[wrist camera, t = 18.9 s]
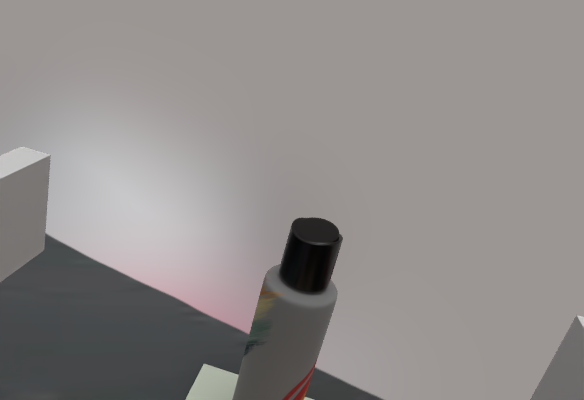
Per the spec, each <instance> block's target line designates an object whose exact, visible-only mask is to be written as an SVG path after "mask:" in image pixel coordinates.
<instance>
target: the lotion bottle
mask: <svg viewBox="0 0 584 400" xmlns="http://www.w3.org/2000/svg"><path fill="white" fill-rule="evenodd" d="M342 240H343V238H342V236H341V235H340V234H339V230H338V228H337V227H336V226H335V225H334V224H333V223H331V222H329V221H327V220H325V219H321V218H298V219H296V220H295V221H294V222H293V223H292V226H291V229H290V233H289V236H288V240H287V244H286V247H285V250H284V254H283V258H282V261H281V264H280V265H276V266H274V267H272V268H271V269H270V270H268V272H267V273H266V275H265V278H264V281H263V285H262V289H261V292H260V296H259V300H258V304H257V307H256V311H255V315H254V319H253V323H252V327H251V331H250V334H249V338H248V342H247V346H246V349H245V353H244V357H243V361H242V365H241V369H240V372H239V376H238V380H237V384H236V388H235V391H234V395H233V399H232V400H304V398H305V394H306V391H307V388H308V385H309V382H310V379H311V376H312V373H313V370H314V367H315V364H316V361H317V358H318V355H319V352H320V349H321V346H322V343H323V340H324V337H325V334H326V331H327V328H328V325H329V322H330V318H331V316H332V313H333V309H334V306H335V303H336V299H337V289H336V287H335V285H334V283H333V282H332V281H331V280H330V279H331V275H332V272H333V269H334V266H335V263H336V260H337V256H338V253H339V250H340V247H341V243H342Z"/></svg>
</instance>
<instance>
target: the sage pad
mask: <svg viewBox="0 0 584 400" xmlns="http://www.w3.org/2000/svg"><path fill="white" fill-rule="evenodd" d="M238 376H239V375H237V374H234V373H231V372H228V371H225V370H222V369H218V368H215V367H212V366H209V365H206V364H204V365H203V367H202V369H201V371H200V373H199V375H198V376H197V378H196V380H195V382H194V384H193V386H192V388H191V390H190V392H189V394H188V396H187V398H186V400H232V399H233V395H234V391H235V388H236V384H237V380H238ZM304 400H313V399H310V398H307V397H305V398H304Z"/></svg>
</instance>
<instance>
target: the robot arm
mask: <svg viewBox="0 0 584 400" xmlns="http://www.w3.org/2000/svg"><path fill="white" fill-rule="evenodd" d="M49 170H50V155H48V154H45V153H42V152H38V151H35V150H32V149H29V148H26V147H20V148H17V149H15V150H12V151H10V152H8V153H5V154H3V155H0V282H1V281H2V280H4V279H5V278H7V277H8V276H9V275H11V274H12V273H13V272H15V271H16V270H17V269H19V268H20V267H22V266H23V265H24V264H26V263H27V262H28V261H30V260H31V259H32V258H34V257H35V256H37V255H38V254H39V253H41V252H42V251H43V250H44V244H45V229H46V214H47V200H48V185H49ZM530 400H584V317H581V316H578V315H577V316H576V317H575V319H574V321H573V323H572V325H571V327H570V328H569V330H568V332H567V334H566V336H565V337H564V339H563V341H562V343H561V345H560V346H559V348H558V351H557V352H556V354H555V356H554V358H553V359H552V361H551V363H550V365H549V367H548V368H547V370H546V372H545V374H544V376H543V378H542V379H541V381H540V383H539V385H538V387H537V389H536V390H535V392H534V394H533V396H532V398H531V399H530Z"/></svg>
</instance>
